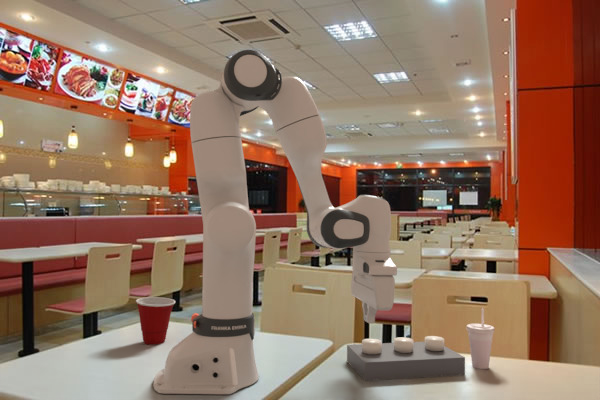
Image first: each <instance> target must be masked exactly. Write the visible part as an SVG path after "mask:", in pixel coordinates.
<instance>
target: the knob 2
mask: <svg viewBox="0 0 600 400" xmlns="http://www.w3.org/2000/svg"><path fill="white" fill-rule="evenodd" d="M424 342H425V349H427V350H430V351H431V352H435V351H443V350H444V346H445V338H444V337H442V336H436V335H427V336H424Z"/></svg>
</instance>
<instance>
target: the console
mask: <svg viewBox="0 0 600 400" xmlns="http://www.w3.org/2000/svg"><path fill="white" fill-rule="evenodd" d="M347 361H348V362H349V363H350V364H351V365H350V364H349V363H348V362H347ZM346 362H347V363H348V364H349V365H350V367H352V368H353V369H354V370H355V372H356V373H357V372H358V373H357V374H358V375H359V376H360V377H361V379H362V380H364V381H365V382H366V381H367V382H368V381H369V382H370V381H386V380H402V379H417V378H436V377H451V376H452V377H453V376H466V357H465V356H464V355H461V354H460V353H458V352H457V351H456V350H455V351H454V350H452V349H451V348H449V347H447V346H445V345H444V350H443V351H435V352H431V351H430V350H427V349H425V341H413V352H410V353H399V352H397V351H395V350H394V342H385V343H382V352H381V353H380V354H372V355H368V354H366V353H363V352H362V343H361V344H347V345H346Z"/></svg>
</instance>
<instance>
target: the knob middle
mask: <svg viewBox="0 0 600 400" xmlns="http://www.w3.org/2000/svg"><path fill="white" fill-rule="evenodd" d="M413 342H414V339H412V338H410V337H405V336H402V337H398V336H397V337H395V338H393V343H394V350H395V351H397V352H399V353H410V352H413Z"/></svg>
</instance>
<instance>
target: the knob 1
mask: <svg viewBox="0 0 600 400" xmlns="http://www.w3.org/2000/svg"><path fill="white" fill-rule="evenodd" d="M361 344H362V352H363V353H366V354H368V355H372V354H380V353H381V352H382V340H381V339H377V338H364V339H362V340H361Z"/></svg>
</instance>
